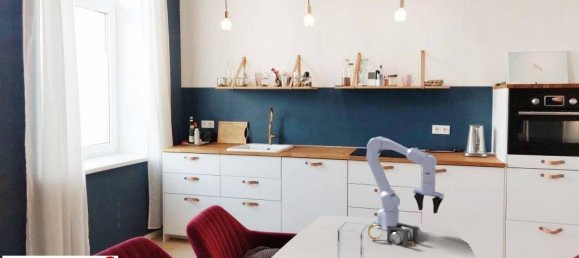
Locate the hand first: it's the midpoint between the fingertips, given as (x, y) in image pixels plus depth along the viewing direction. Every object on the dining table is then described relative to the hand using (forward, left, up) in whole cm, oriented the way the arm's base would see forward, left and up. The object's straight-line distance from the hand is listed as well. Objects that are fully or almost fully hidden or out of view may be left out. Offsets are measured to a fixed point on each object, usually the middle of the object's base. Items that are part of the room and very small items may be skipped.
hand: (427, 211), depth 217 cm
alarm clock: (-10, -25, -11) cm, 29 cm away
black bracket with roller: (0, -20, -10) cm, 22 cm away
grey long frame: (0, -16, -10) cm, 19 cm away
